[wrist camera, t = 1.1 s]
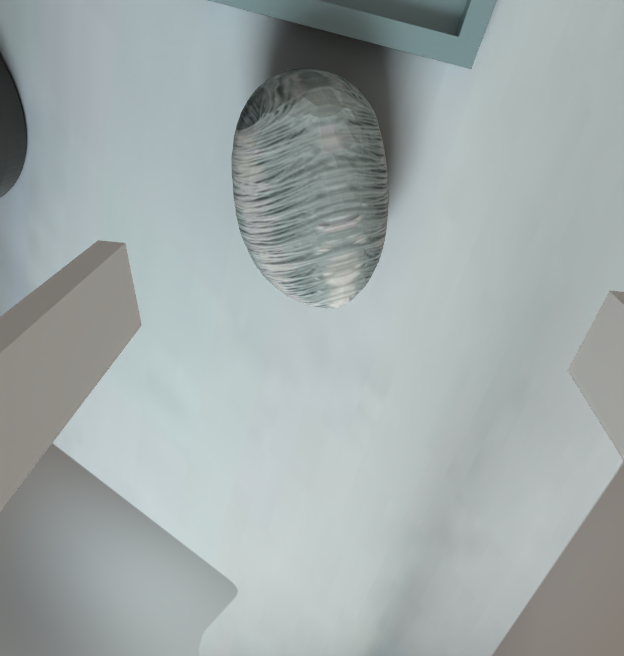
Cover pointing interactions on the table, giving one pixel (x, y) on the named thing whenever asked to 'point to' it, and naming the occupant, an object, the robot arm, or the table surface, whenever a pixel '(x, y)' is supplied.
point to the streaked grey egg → (311, 186)
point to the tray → (391, 22)
